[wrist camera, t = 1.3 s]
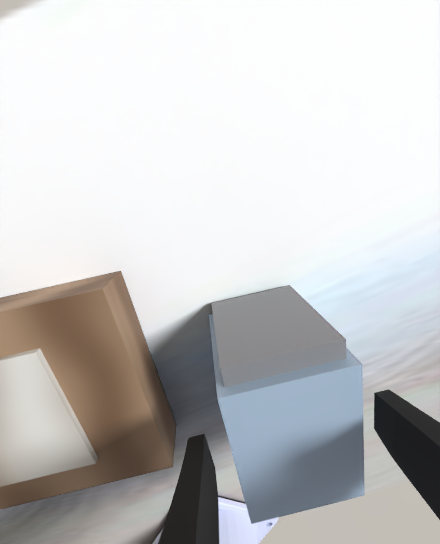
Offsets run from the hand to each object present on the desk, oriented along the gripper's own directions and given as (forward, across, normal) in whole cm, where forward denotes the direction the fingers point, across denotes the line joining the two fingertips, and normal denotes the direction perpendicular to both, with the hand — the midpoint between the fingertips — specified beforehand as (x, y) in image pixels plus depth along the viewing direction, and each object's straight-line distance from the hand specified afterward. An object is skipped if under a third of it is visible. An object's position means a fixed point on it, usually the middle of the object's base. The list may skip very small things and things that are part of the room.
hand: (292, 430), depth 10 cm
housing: (+5, 0, 0) cm, 5 cm away
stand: (+5, +14, -2) cm, 15 cm away
